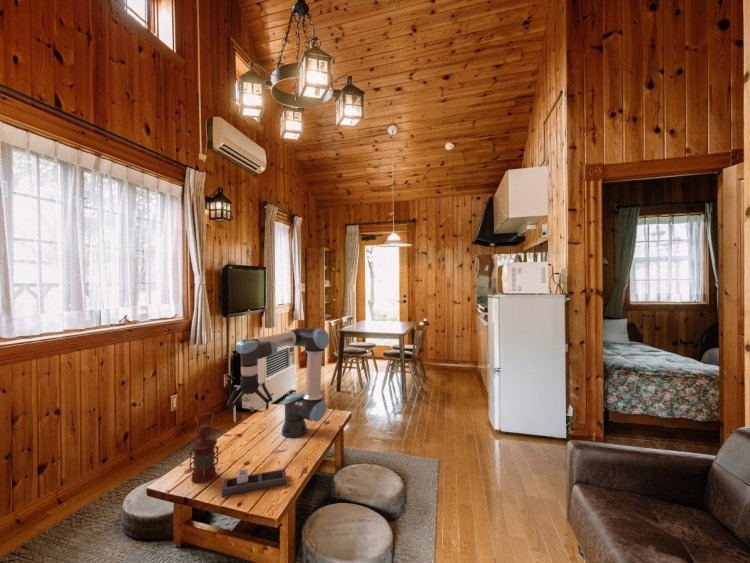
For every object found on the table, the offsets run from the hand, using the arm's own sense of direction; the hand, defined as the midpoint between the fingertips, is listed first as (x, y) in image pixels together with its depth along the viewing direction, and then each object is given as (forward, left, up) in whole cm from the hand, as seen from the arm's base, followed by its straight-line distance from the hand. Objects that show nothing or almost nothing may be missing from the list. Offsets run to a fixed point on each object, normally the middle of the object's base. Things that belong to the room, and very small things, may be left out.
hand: (250, 418), depth 157 cm
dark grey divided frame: (-3, +9, -27) cm, 29 cm away
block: (+3, +9, -27) cm, 29 cm away
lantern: (+20, -6, -27) cm, 35 cm away
